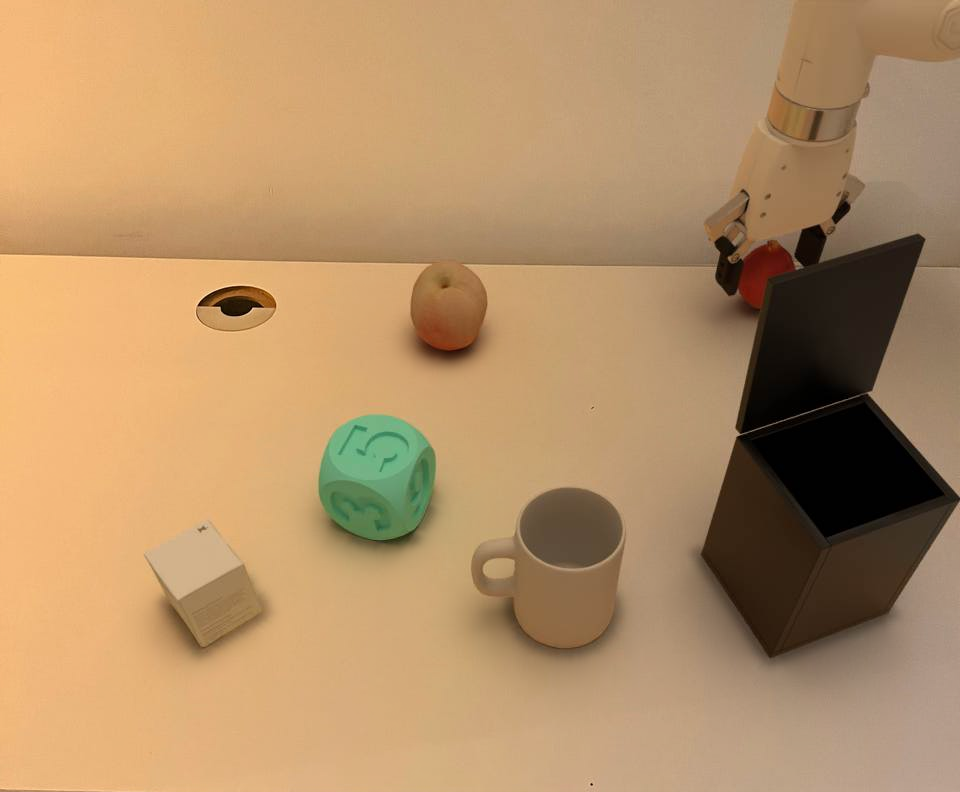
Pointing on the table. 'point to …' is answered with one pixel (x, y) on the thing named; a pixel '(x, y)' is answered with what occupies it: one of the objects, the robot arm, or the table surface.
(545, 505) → the mug
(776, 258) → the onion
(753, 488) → the dark wooden storage box
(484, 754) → the table surface
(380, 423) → the decorative dice
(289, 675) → the table surface
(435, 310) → the fruit
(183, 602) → the product box
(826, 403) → the lid
